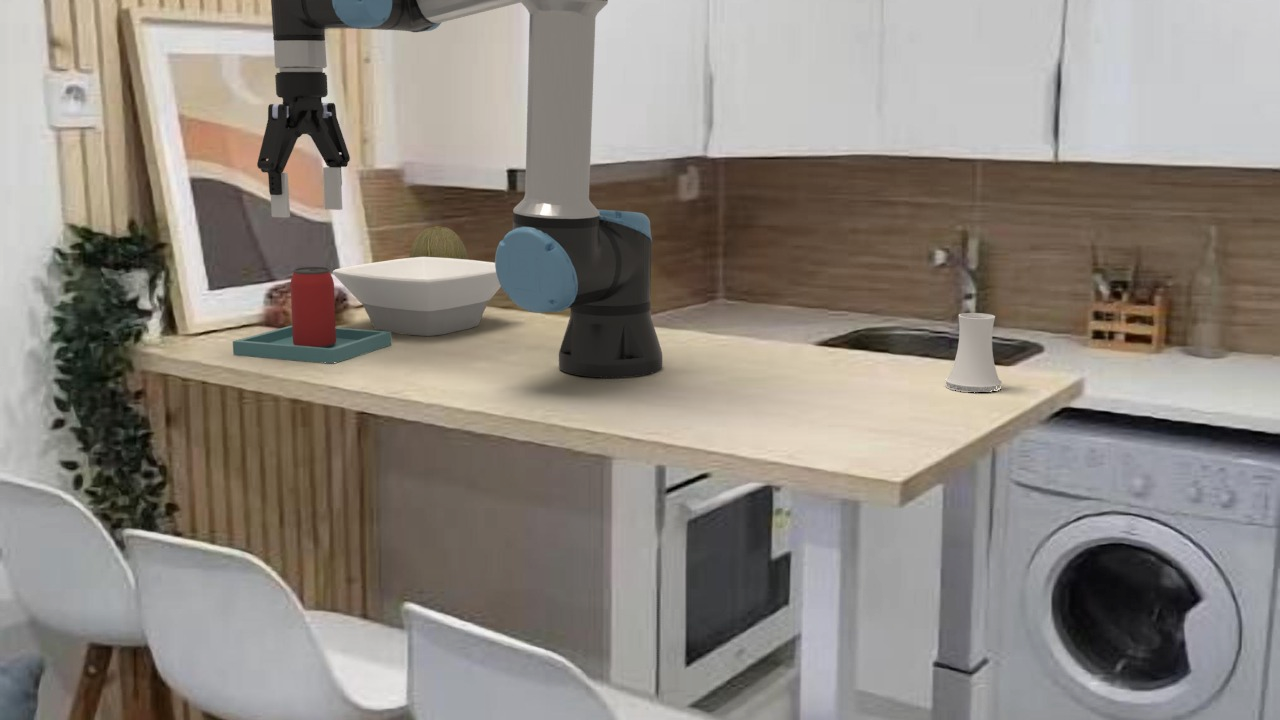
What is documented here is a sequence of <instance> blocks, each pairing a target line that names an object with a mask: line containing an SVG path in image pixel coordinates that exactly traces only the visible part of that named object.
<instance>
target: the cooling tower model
mask: <svg viewBox="0 0 1280 720" xmlns="http://www.w3.org/2000/svg"><path fill="white" fill-rule="evenodd" d="M995 318H996V315H993V314H990V313H983V312H981V313H980V312H967V313H966V312H964V313H959V314H958V324H959V326H958V327H959V328H958V329H959V333H958V334H959V336H958V344H957V351H956V355H955V359H954V361H953V365H952V368H951V371H950V373H949V374H948V376H947V377H946V378H945V379H944V380H945V384H944V387H945V386H946V387H947V389H948V388H949V390H951V391H955V390H956V391H955V392H960V391H961V392H962V393H968V392H974V393H973V394H976V393H975V392H990V391H991V390H992V391H994V389H995V390H997V389H998V388H1000V386H1001V385H1002V383H1003V382H1002V380H1001V379H1000V378H999V375H998V373H997V369H996V365H995V359H994V353H993V332H994V324H995ZM996 386H997V389H996ZM946 387H945V388H946ZM961 392H960V393H961Z"/></svg>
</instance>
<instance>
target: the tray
mask: <svg viewBox="0 0 1280 720" xmlns="http://www.w3.org/2000/svg"><path fill="white" fill-rule="evenodd" d="M388 346H392V332H386V331H382V330H373V329H362V328H361V329H358V328H346V327H336V343H335V344H334V345H333V346H330V347H327V348H322V347H310V346H299V345H294V344H293V331H292V324H290V325H288V326H284V327H280V328H276V329H274V330H269V331H265V332H262V333H258V334H254V335H251V336H247V337H244V338H243V337H242V338H241V339H235V340H232V351H233V356H243V357H255V358H265V359H274V358H276V360H277V359H278V360H287V361H297V362H307V361H311V362H310V363H318V362H323V363H322V364H329V363H334V362H338V361H341V362H343V361H342V360H344V361H347V360H350V359H353V358H356V357H359V356H362V355H365V354H368V353H371V352H374V351H378V350H381V349H382V348H383V349H384V348H386V347H388ZM346 359H347V360H346ZM324 362H326V363H324ZM338 363H339V362H338Z"/></svg>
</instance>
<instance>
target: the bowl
mask: <svg viewBox="0 0 1280 720" xmlns="http://www.w3.org/2000/svg"><path fill="white" fill-rule="evenodd" d="M332 274H333V276H334V277H335V278H336V279H337V280H338V281H339V282H340V283H341V284H342V285H343V286H344V287H345V288H346V289H347V291H349V292H350V293H351V294H352V296H353V297H354V298H355V299H356V300H357V301H358V302H360V303H361V305H362V306H363V308H364V310H365V312H366V314H367V317H368V318H369V320H370V322H371V324H372V327H373V328H374V329H375V330H377V331H386V332H391V334H392V333H393V334H399V335H400V334H401V335H407V336H416V337H417V336H419V337H433V336H441V335H445V334H447V335H448V334H451V333H456V332H461V331H464V330H469V329H473V328H475V327H477V326H479V324H480V322H481V319H482V317H483V315H484V312H485V310H486V307H487V305H488V303H489V301H490V300H491V299H492V298H493V297H494V296H495V294H496V293H497V292H498V291H499V290H500V288H502V287H501V285H500V283H499V280H498V277H497V274H496V268H495V262H492V261H484V260H475V259H469V260H465V259H453V258H438V257H414V258H409V257H407V258H397V259H388V260H384V261H376V262H369V263H368V262H367V263H362V264H356V265H350V266H344V267H340V268H336V269H334V270H332Z"/></svg>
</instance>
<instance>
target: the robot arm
mask: <svg viewBox="0 0 1280 720" xmlns="http://www.w3.org/2000/svg"><path fill="white" fill-rule="evenodd" d="M608 2H609V0H270V5H271V20H272V21H271V22H272V34H273V46H274V47H273V51H274V52H273V53H274V67H275V68H276V69H278V71H279V72H276V74H275V75H274V78H275V93H276V94H275V95H276V96H277V98H282V103H281V104H280V103H270V104H269V105H268V107H267V111H268V112H267V122H266V127H265V131H264V135H263V138H262V143H261V147H260V151H259V156H258V159H257V163H256V164H257V165H256V167H257V168H258V169H260V171H261V173H267V175H268V177H267V178H268V192H269V195H270V209H271V217H272V218H283V219H284V218H286V219H288V218H291V209H290V207H291V206H290V191H289V190H290V189H289V173H288V172H284V171H285V168H286V166H287V163H288V161H289V159H290V157H291V154H292V152H293V150H294V147H295V145H296V144H297V141H298V139H299V138H300V137H302V135H307V136H310V137H311V140H312V142H313V143H314V145H315V147H316V148H317V150H318V152H319V154H320V156H321V157H322V159H323V161H324V163H325V164H326V166H327V167H325V166H324V167H323V168H322V172H323V192H324V194H323V195H324V210H339V211H341V210H343V194H342V193H343V192H342V185H343V179H342V168H347V167H348V166H349V165H348V163H349V162H350V161H351V160H350V159H351V157H350V153H349V151H348V148H347V144H346V142H345V139H344V136H343V132H342V129H341V127H340V123H339V120H338V118H337V110H336V109H337V108H336V104H335V103H334V102H322V99H323V98H326V97H327V96H328V93H329V91H328V75H327V74H326V72H323V71H324V69H326V68H327V67H328V63H327V50H326V49H327V47H326V35H325V34H326V33H325V32H326V30H327V29H328V30H330V29H331V30H333V29H338V30H339V29H340V30H341V29H345V30H347V29H351V30H352V29H355V30H379V31H383V30H384V31H400V32H401V31H404V32H411V33H421V32H422V33H424V32H429V31H433V30H436V29H437V28H439V27H440V26H441V24H442V23H444V22H445V23H446V22H448V21H453V20H455V19H456V20H457V19H461V18H465V17H469V16H472V15H477V14H481V13H484V12H488V11H493V10H496V9H500V8H505V7H508V6H512V5H516V4H520V3H521V4H522V5H523V6H524V8H525V9H526V10H527V12H528V13H529V24H528V25H529V26H528V27H529V29H528V65H527V66H528V67H527V68H528V70H527V106H526V108H527V109H526V110H527V111H526V147H525V148H526V149H525V150H526V151H525V152H526V153H525V181H524V182H525V183H524V184H525V185H524V186H525V188H524V197H523V199H522V200H521V201H520V202H519V203H517V204H516V206H514V208H513V210H512V211H513V212H512V213H513V215H512V230H509V231H508V233H506V234H505V235H504V237H503V239H502V240H500V241H499V243H498V245H497V248H496V250H495V251H496V252H495V257H494V258H495V259H494V263H495V268H496V274H497V277H498V280H499V283H500V285H501V287H500V288H502V290H503V292H504V293H505V294H507V295H508V297H509V299H510V301H512V303H514V304H515V305H516V306H518V307H519V308H521V309H523V310H525V311H528V312H531V313H539V314H540V313H541V314H543V313H549V312H550V313H558V312H562V311H565V310H567V309H570V314H569V319H568V323H567V325H566V329H565V332H564V336H563V339H562V342H561V345H560V348H559V351H558V368H559V370H560V371H562V372H564V373H567V374H570V375H575V376H579V377H580V376H581V377H588V378H589V377H590V378H608V379H609V378H631V377H639V376H646V375H650V374H653V373H657V372H659V371H660V370H662V369H663V350H662V348H661V344H660V341H659V338H658V335H657V332H656V329H655V326H654V322H653V320H652V314H651V313H652V311H651V293H652V292H651V289H652V288H651V286H652V283H651V282H652V276H651V275H652V243H653V238H652V237H653V236H652V233H651V222H650V221H651V220H650V218H649V217H648V215H646V214H645V213H642V212H636V211H626V210H624V211H622V210H611V209H601V208H600V209H597V207H596V206H595V205H594V204H593V203H592V202H591V200H590V184H591V183H590V182H591V181H590V180H591V179H590V178H591V151H592V149H591V147H592V126H593V125H592V122H593V99H594V97H593V95H594V69H595V68H594V67H595V65H594V64H595V45H596V44H595V43H596V42H595V40H596V39H595V38H596V17H597V15H598V14H599V13H600V12H601V11H602V10H603V9H604V8H605V7H606V6H607V5H608Z"/></svg>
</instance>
